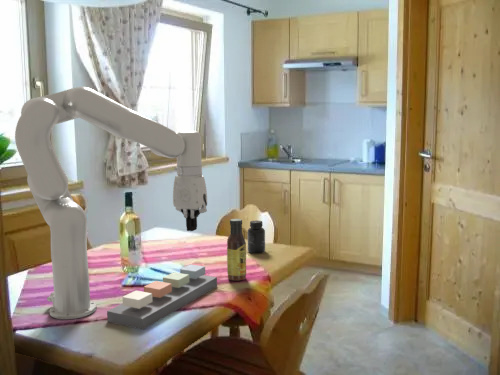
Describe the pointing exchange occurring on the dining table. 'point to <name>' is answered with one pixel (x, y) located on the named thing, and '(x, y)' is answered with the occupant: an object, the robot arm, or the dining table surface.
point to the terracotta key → (158, 288)
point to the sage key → (176, 279)
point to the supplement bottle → (256, 237)
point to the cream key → (137, 299)
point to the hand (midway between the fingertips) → (191, 230)
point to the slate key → (193, 271)
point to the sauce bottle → (236, 252)
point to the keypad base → (161, 304)
